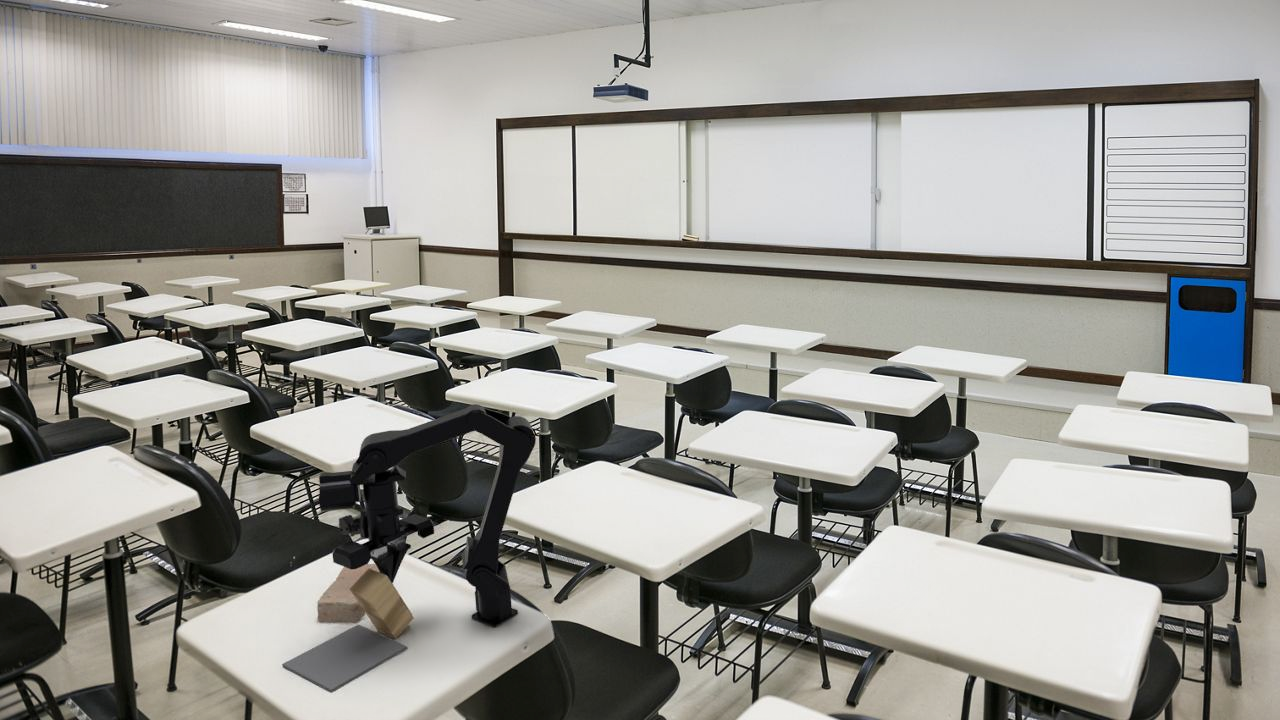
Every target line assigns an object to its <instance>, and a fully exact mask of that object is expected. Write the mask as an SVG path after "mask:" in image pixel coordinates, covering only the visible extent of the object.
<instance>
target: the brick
mask: <svg viewBox="0 0 1280 720" xmlns="http://www.w3.org/2000/svg"><path fill="white" fill-rule="evenodd" d="M368 569H372V570H374V571H377V572H380V571H379V569H378V568H377V566H376V564H375V563H368V564H366V565H364V566H362V567H359V568H357V569H352V570H351V569H349V568H346V567H344V566H343V567H342V569H341V570H340V572H339V573H338V576H337V577H336V578H335V580H334V581H332V583H331V584H330V585H329V586H328V588H327V589H326V590H325V591H324V592H323V593H322V595H321V596H320V597H319V600H317V602H316V604H317V606H316V609H317V620H318V622H319V623H326V624H328V623H345V624H350V623H357V622H359V621H360V620H361V618H363V616H364V614H365V611H364V610H363V608H362V607H361V605H360V604H359V602H358V601H357V599H356V598H355V597H354V595H353V594H352V592H351V591H350V588H351V587H352V586H353V585H354V583H355V582H356V581H357V580H358V579H359V578H360V577H361V576H362V575H363V574H364V573H365V572H366V571H367V570H368Z"/></svg>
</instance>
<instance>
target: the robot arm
mask: <svg viewBox="0 0 1280 720" xmlns="http://www.w3.org/2000/svg"><path fill="white" fill-rule="evenodd" d="M472 432H476V433H479V434H480V435H483V436H485V437H486V438H488V439H490V440H492V441H493V442H495V443H497V444H499V451H498V464H497V468H496V470H495V475H494V477H493V483H492V486H491V489H490V493H489V495H488V496H489V497H488V499H487V503H486V506H485V509H484V514H483V517H482V520H481V523H480V527H479V529H478V532H477V533H476V534H475V536H474V538H473V537H472V536H466V541H465V542H466V543H465V548H464V550H463V551H462V553H461V562H462V569H463V571H464V572H465V579H466V581H467V582H468V584H469V585H471V586H472V587H474V589H475V591H474V598H475V600H474V601H475V610H476V611H475V612H474V613H472V614H471V619H473V620H475V621H478V622H480V623H483V624H486V625H488V626H489V627H490V626H491V627H493V628H495V627H497V626H499V625H501V624H503V623H505V622H506V621H507V620H509V619H511V618H512V617H514V616H516V615H517V614H519V611H518V609H515V608H513V607H512V594H511V586H510V582H509V577H508V571H507V568H506V564H505V563H503V562H502V561H500V560H499V555H500V553H499V552H500V539H501V536H502V532H503V530H504V525H505V522H506V519H507V516H508V511H509V509H510V506H511V505H510V504H511V501H512V499H513V495H514V491H515V488H516V484H517V481H518V477H519V474H520V472H521V470H522V469H523V468H524V466H525V465H526V463H527V461H529V458H530V456H531V454H532V452H533V451H534V448H535V445H536V441H537V439H536V435H535V432H534V430H533V427H532V425H531V423H530V421H529V420H528V419H527V418H525V417H522V416H519V415H518V416H511V415H508V414H506V413H502V412H500V411H496V410H494V409H493V410H492V409H489V408H486V407H484V406H482V405H480V404H478V403H477V404H475V403H474V404H471V405H469V406H468V407H466V408H463V409H460V410H457V411H455V412H452V413H449V414H447V415H443V416H441V417H438V418H436V419H435V418H434V419H432V420H430V421H427V422H425V423H421V424H419V425H416V426H413V427H409V428H406V429H400V430H396V429H395V430H387V431H386V430H385V431H381V432H374V433H371V434H368V435H367V436H365V438H364V439H363V440H362V443H361V444H360V448H359V454H358V457H357V459H356V461H355V462H354V463H352V468H351V470H346V471H336V472H329V471H328V472H327V471H326V472H320V473H319V477H318V480H319V487H318V489H319V493H318V494H319V495H318V504H319V509H320V512H321V513H323V512H332V511H342V510H350V509H355V506H356V507H357V503H360V502H361V498H362V497H361V486H362V491H363V499H364V509H362V510H361V509H360V514H359V515H356V516H353V515H352V514H348V515H345V516H342V517H340V518H338V527H339V530H340V534H341V535H343V536H345V535H350V537H351V538H352V537H354V536H356V535H359V536H360V538H362V539H364V540H366V539H368V541H366V542H364V543H359V542H356V541H354V540H350V541H348V542H345V543H343V544H341V545H338V546H336V547H335V548H334V549H333V550H332V561H333V562H332V563H334V564H337V565H338V566H341V567H343V568H344V567H346V568H349V569H351V570H352V569H357V568H359V567H362V566H364V565H366V564H370V561H371V560H372V562H373V564H376V566H377V568H378V569H379V571H380V573H382V574H385V575H387V576H388V578H389V579H390V581H391V582H392V584H393V583H394V581H395V579H396V577H397V574H398V571H399V569H400V567H401V565H402V562H403V560H404V558H405V556H406V554H407V552H408V550H410V549H411V548H412V545H411V544H410V543H407V542H406V541H407V540H406V537H408V536H410V535H412V534H415V533H417V536H418V537H420V538H422V539H425V538H427V537H430V536H432V535H434V534H435V524H434V522H433V521H432V519H430V518H428V517H425V516H421V515H418V514H415V513H414V514H411V515H409V516H406V517H404V518H402V519H400V516H401V515H403V514H404V508H402V507H400V506H399V503H398V492H397V482H403V481H405V480H406V478H407V477H406V476H407V475H406V473H407V471H406V470H404V469H402V468H401V467H399V466H398V464H401V462H403V461H404V460H405V459H407V457H410V456H411V455H413V454H415V453H417V452H419V451H422V450H426V449H428V448H431V447H433V446H437V445H440V444H443V443H445V442H447V441H450V440H453V439H456V438H458V437H461V436H464V435H467V434H469V433H472Z"/></svg>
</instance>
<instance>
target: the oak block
mask: <svg viewBox="0 0 1280 720" xmlns="http://www.w3.org/2000/svg"><path fill="white" fill-rule="evenodd" d="M350 591H351V592H352V594H353V595H354V597H355V598H356V599H357V601H358V602H359V604H360V605H361V607H362V608H363V610H364V614H366V616H367V617H368V619H369V620H370V621H371V623H372V625H373V626H374V627H375V629H376V630H377V632H378V633H380V634H381V633H382V635H383V634H384V636H388V637H389V638H391V639H393V640H394V639H395V640H396V639H397V638H398V637H399V636H400V635H401V634H402V633H403V631H404V630H405V629H406V628H407V627H408V625H409V624H411V622H412V621H413V620H414V619H415V617H414V616H413V613H412V612H411V610H410V608H409V607H408V606H407V604H406V602H405V600H404V599H403V598H402V596H401V594H400V593H399V591H398V590H397V589H396V587H395V585H394V584H393V583H392V582H391V581H390V579H389V578H388V576H387V575H385V574H382V573H380V572H377V571H374V570H372V569H368V570H367V571H366V572H365V573H364V574H363V575H362V576H361V577H360V578H359V579H358V580H357V581H356V582H355V583H354V585H353V586H352V587H351V588H350Z"/></svg>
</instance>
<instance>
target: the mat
mask: <svg viewBox="0 0 1280 720" xmlns="http://www.w3.org/2000/svg"><path fill="white" fill-rule="evenodd" d="M407 649H408V646H407V645H406V644H404V643H401V642H399V641H397V640H396V639H395V640H394V639H393V638H391V637H389V636H388V637H387V635H383V634H381V633H380V632H378V631H377V632H376V631H374V630H372V629H370V628H368V627H365V626H363V625H360V624H358V623H357V624H356V625H355V626H352V627H351V628H349V629H347V630H345V631H343V632H341V633H339V634H338V635H336V636H335V635H334V637H331V638H329V639H328V640H325V641H324V642H322V643H320V644H317V645H316V646H314V647H312V648H311V649H308V650H306V651H304V652H302V653H301V654H299V655H296V656H295V657H293V658H290V660H287V661H286V662H283V663H282V664H281V665H282V667H283V668H284V669H286V670H288V671H290V672H292V673H294V674H296V675H298V676H299V677H302V678H303V679H305V680H307V681H309V682H311V683H313V684H315V685H316V686H319V687H321V688H322V689H324V690H326V691H327V692H330V693H333V692H335V691H337V690H338V689H340V688H342V687H344V686H345V685H347V684H349V683H350V682H352V681H354V680H356V679H357V678H359V677H361V676H362V675H365V674H366V673H368V672H369V671H371V670H373V669H375V668H377V667H378V666H380V665H381V664H384V663H385V662H387V661H388V660H390V659H392V658H393V657H396V656H397V655H399V654H401V653H402V652H404V651H406V650H407Z"/></svg>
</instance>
